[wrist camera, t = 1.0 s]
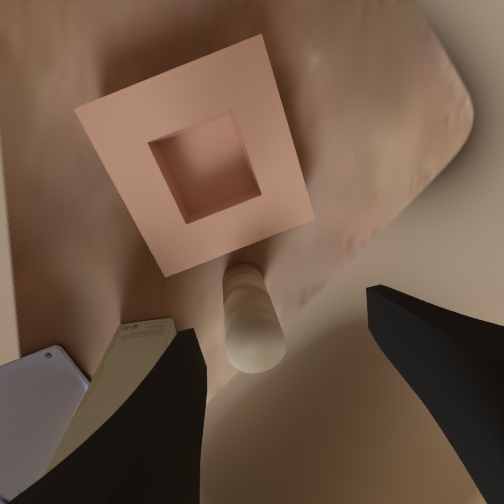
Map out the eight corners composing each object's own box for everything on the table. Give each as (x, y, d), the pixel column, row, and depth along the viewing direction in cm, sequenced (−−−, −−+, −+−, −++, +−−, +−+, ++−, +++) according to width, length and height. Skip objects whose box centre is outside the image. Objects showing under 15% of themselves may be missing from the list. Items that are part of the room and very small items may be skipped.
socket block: (173, 257, 21) (165, 277, 17) (101, 117, 17) (73, 108, 14) (299, 207, 21) (315, 219, 17) (252, 56, 17) (261, 33, 14)
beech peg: (231, 305, 23) (239, 381, 15) (216, 272, 22) (216, 336, 14) (268, 291, 23) (293, 360, 15) (254, 257, 22) (275, 313, 14)
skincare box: (118, 322, 22) (16, 504, 11) (176, 315, 22) (135, 483, 11) (135, 384, 24) (65, 589, 13) (187, 376, 25) (163, 569, 13)
